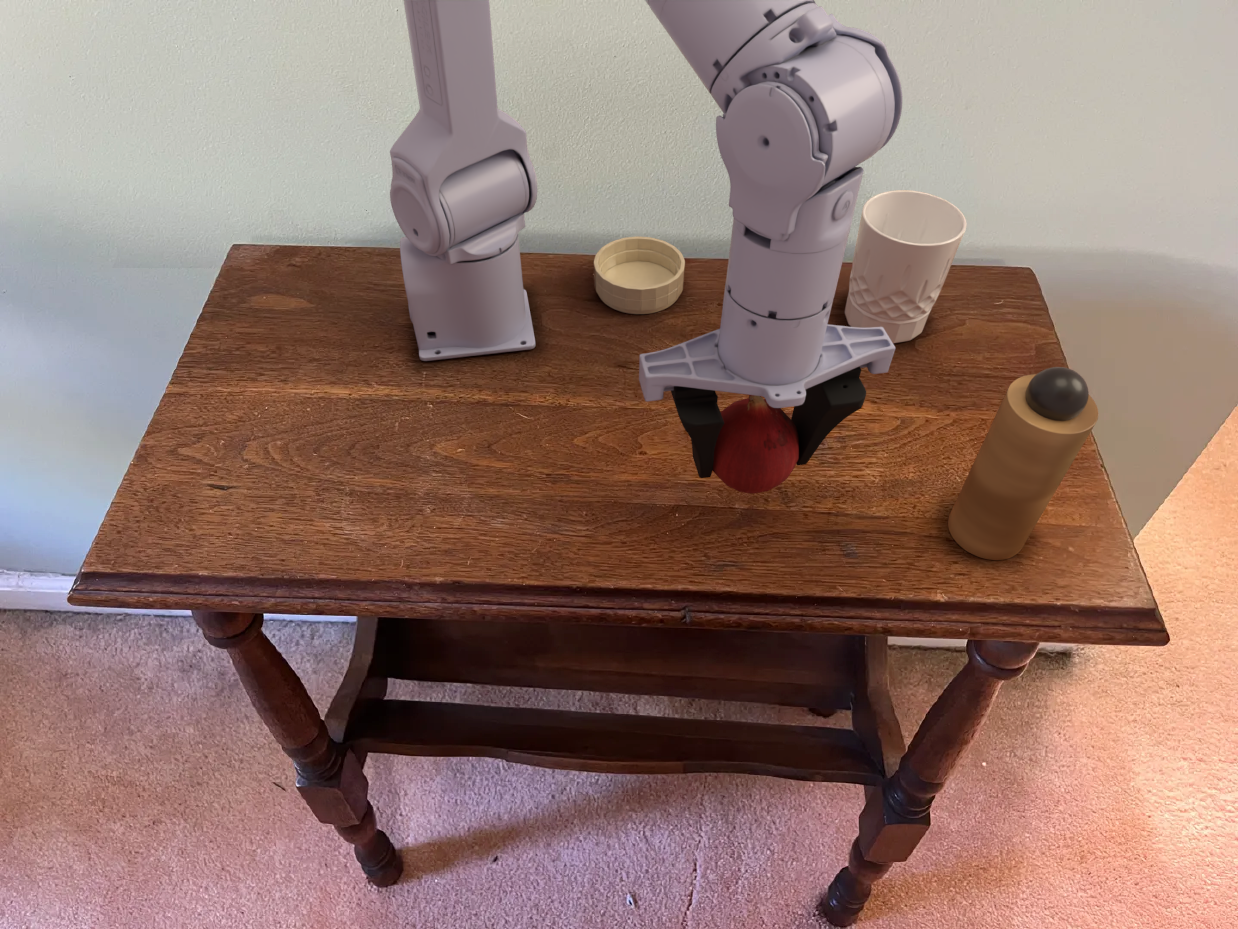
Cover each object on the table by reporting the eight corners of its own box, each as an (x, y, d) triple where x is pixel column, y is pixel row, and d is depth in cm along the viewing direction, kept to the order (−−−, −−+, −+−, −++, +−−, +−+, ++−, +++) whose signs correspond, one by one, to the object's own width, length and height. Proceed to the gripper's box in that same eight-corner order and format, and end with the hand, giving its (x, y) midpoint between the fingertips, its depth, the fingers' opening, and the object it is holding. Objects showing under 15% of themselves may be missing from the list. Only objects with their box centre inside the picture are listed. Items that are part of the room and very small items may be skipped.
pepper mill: (967, 565, 56) (1049, 410, 45) (935, 507, 59) (1004, 350, 49) (1037, 554, 56) (1134, 399, 46) (1002, 497, 60) (1084, 340, 49)
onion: (788, 456, 58) (807, 368, 52) (791, 521, 55) (812, 435, 49) (703, 449, 59) (713, 362, 53) (700, 514, 55) (711, 427, 49)
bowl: (602, 320, 73) (602, 293, 71) (588, 267, 78) (587, 240, 76) (691, 310, 74) (694, 283, 72) (672, 258, 79) (673, 232, 77)
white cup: (819, 306, 74) (841, 204, 67) (890, 282, 77) (919, 180, 69) (877, 359, 70) (908, 255, 62) (950, 331, 72) (988, 228, 65)
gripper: (661, 350, 41) (651, 523, 51) (941, 318, 43) (878, 492, 53) (633, 266, 46) (630, 440, 56) (887, 241, 48) (839, 413, 58)
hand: (749, 460), depth 55 cm, fingers closed on onion, 6 cm apart
